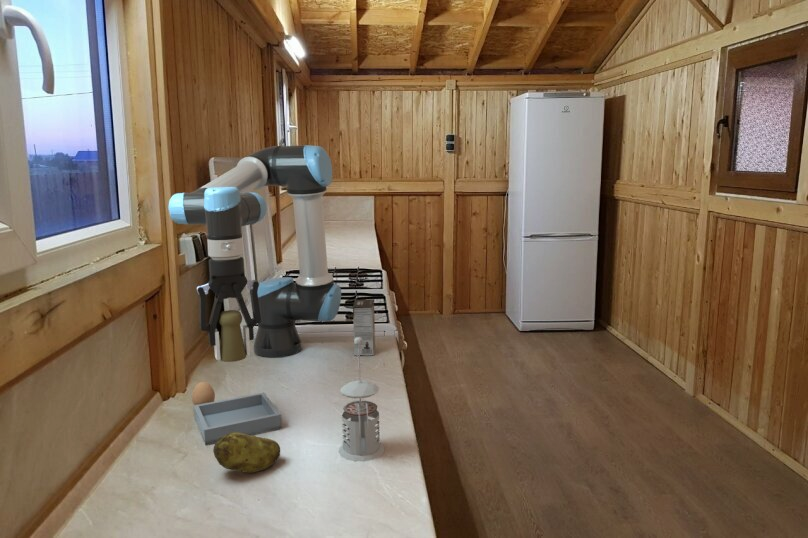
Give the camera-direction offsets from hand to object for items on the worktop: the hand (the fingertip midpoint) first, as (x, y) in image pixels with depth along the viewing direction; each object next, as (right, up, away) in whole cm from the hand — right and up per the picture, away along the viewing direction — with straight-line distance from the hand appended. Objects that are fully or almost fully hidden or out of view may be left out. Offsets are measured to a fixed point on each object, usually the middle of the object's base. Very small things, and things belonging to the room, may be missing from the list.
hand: (232, 355), depth 141 cm
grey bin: (0, -16, +3) cm, 17 cm away
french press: (+30, -19, -11) cm, 38 cm away
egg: (-10, -15, +12) cm, 22 cm away
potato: (+8, -20, -18) cm, 28 cm away
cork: (0, -1, 0) cm, 1 cm away
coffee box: (+27, -6, +54) cm, 61 cm away
